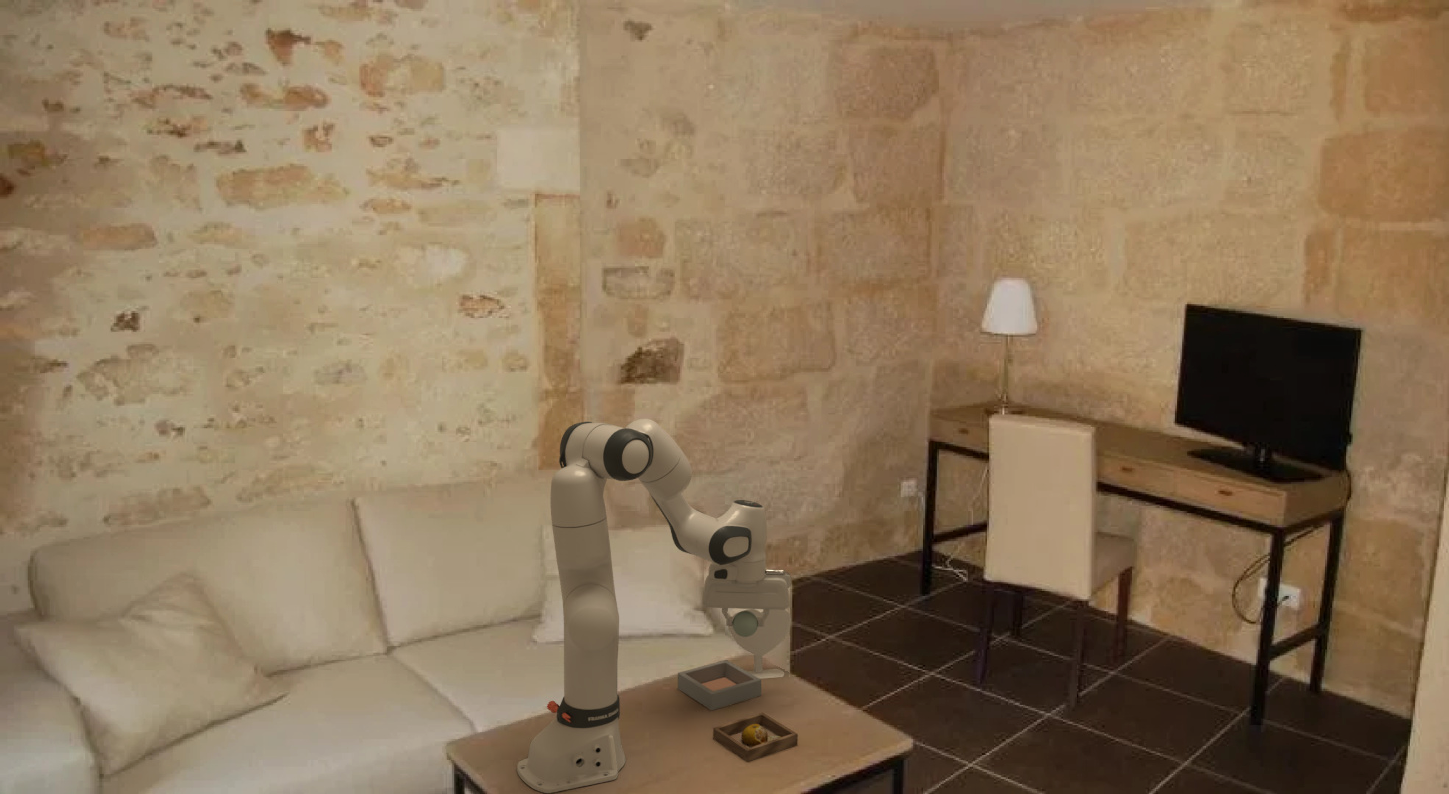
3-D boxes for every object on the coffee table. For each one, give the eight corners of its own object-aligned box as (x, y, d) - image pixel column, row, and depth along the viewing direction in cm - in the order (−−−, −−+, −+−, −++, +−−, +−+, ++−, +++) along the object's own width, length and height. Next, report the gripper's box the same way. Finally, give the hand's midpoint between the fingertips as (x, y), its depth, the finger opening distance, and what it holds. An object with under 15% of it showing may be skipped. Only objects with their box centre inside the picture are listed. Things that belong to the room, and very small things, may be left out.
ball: (744, 643, 259) (744, 618, 258) (726, 635, 263) (727, 610, 262) (763, 636, 262) (763, 612, 261) (745, 629, 267) (746, 605, 266)
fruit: (772, 755, 240) (773, 739, 240) (735, 748, 243) (736, 732, 242) (783, 738, 248) (783, 722, 247) (747, 731, 251) (747, 716, 250)
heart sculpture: (785, 668, 285) (787, 600, 282) (790, 676, 280) (792, 607, 277) (725, 672, 281) (726, 604, 278) (729, 681, 277) (730, 611, 274)
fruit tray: (747, 761, 237) (747, 750, 236) (713, 738, 247) (713, 728, 246) (797, 744, 244) (797, 734, 244) (762, 722, 255) (762, 712, 254)
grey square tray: (711, 710, 260) (711, 694, 260) (677, 688, 272) (677, 673, 271) (761, 695, 269) (761, 680, 268) (726, 675, 280) (726, 659, 279)
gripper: (791, 565, 263) (789, 622, 265) (703, 563, 263) (702, 619, 266) (792, 574, 257) (790, 632, 259) (702, 571, 257) (701, 629, 259)
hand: (745, 625), depth 262 cm, fingers closed on ball, 6 cm apart
